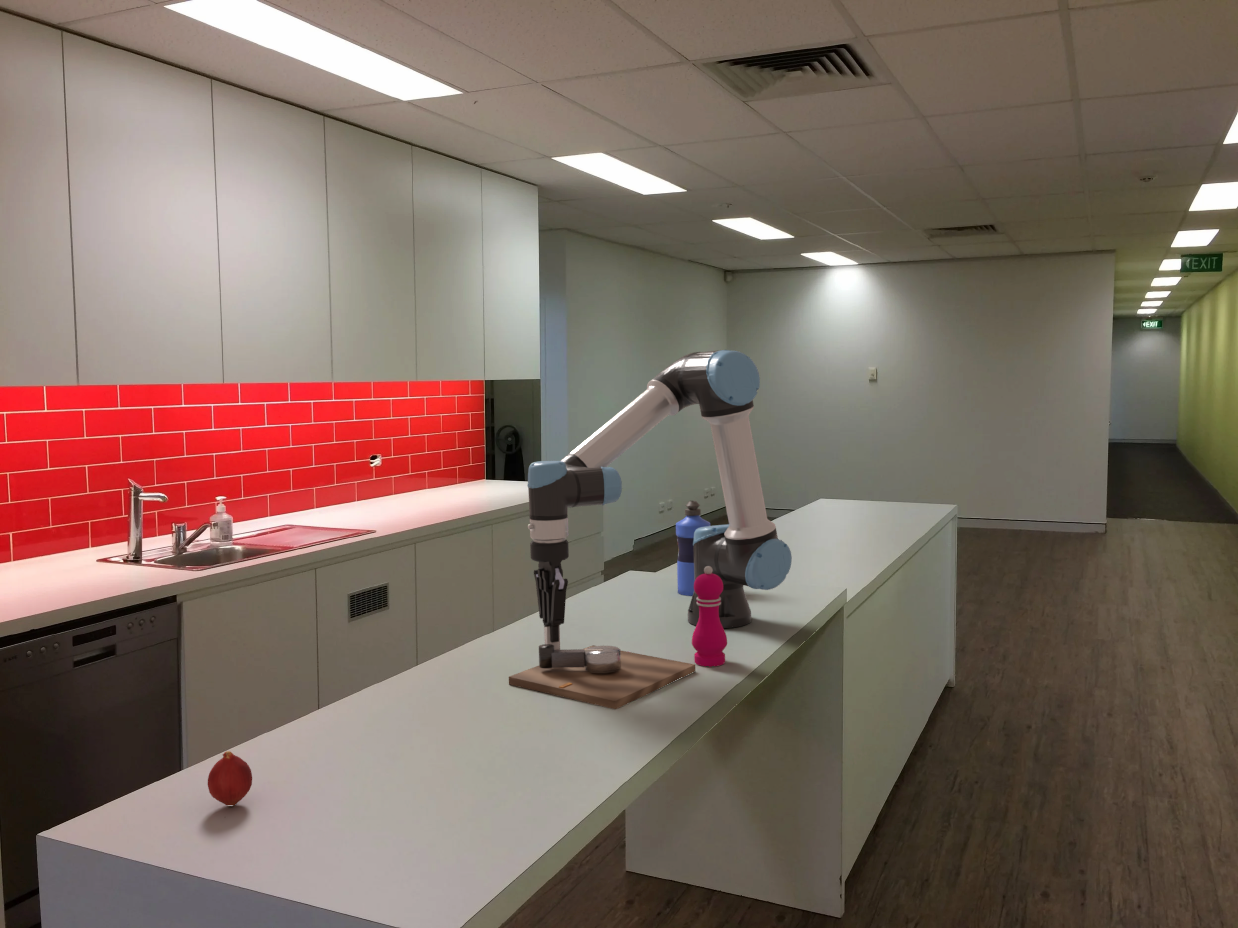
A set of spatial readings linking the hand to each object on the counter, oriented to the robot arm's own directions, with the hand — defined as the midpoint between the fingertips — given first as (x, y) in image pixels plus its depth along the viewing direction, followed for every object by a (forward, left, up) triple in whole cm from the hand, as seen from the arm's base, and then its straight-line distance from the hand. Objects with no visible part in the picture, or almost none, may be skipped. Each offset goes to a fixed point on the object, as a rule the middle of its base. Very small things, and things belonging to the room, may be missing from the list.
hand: (552, 656), depth 192 cm
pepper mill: (-23, +22, -4) cm, 32 cm away
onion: (+71, +2, -4) cm, 71 cm away
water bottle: (-76, -16, -4) cm, 78 cm away
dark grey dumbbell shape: (-1, +7, -2) cm, 7 cm away
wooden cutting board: (-3, +10, -4) cm, 11 cm away
